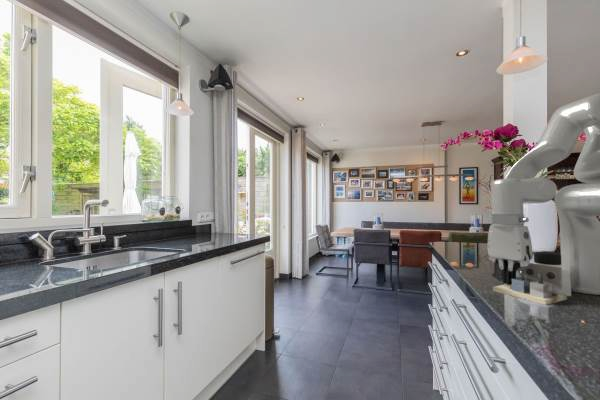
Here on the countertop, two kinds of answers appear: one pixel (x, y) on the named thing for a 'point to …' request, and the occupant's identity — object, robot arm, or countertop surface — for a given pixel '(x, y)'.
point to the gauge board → (527, 295)
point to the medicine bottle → (554, 261)
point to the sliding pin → (521, 283)
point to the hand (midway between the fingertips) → (509, 283)
